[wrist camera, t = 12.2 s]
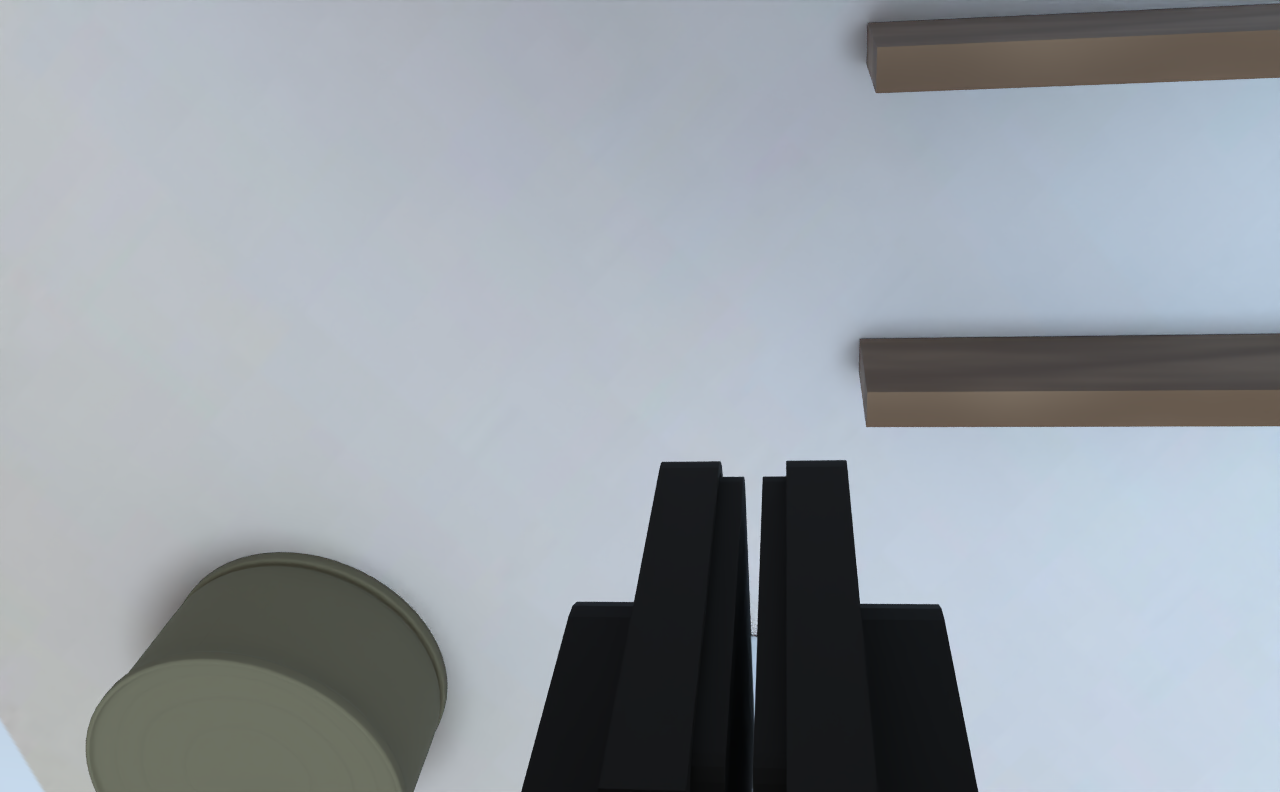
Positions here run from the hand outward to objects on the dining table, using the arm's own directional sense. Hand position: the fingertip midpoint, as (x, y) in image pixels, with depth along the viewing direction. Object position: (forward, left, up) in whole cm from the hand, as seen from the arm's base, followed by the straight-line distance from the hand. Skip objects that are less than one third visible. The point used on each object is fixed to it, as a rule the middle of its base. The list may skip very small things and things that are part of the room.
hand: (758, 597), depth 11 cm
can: (+24, -20, -27) cm, 41 cm away
